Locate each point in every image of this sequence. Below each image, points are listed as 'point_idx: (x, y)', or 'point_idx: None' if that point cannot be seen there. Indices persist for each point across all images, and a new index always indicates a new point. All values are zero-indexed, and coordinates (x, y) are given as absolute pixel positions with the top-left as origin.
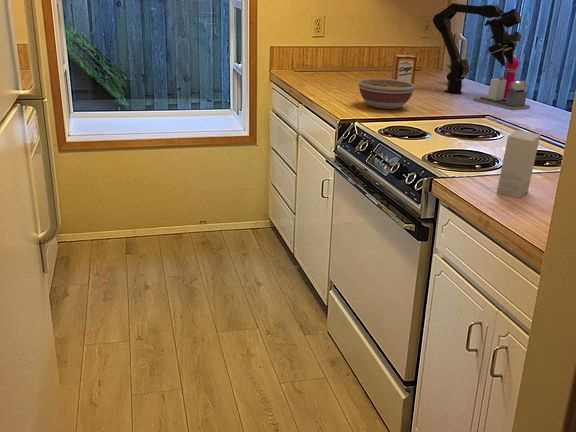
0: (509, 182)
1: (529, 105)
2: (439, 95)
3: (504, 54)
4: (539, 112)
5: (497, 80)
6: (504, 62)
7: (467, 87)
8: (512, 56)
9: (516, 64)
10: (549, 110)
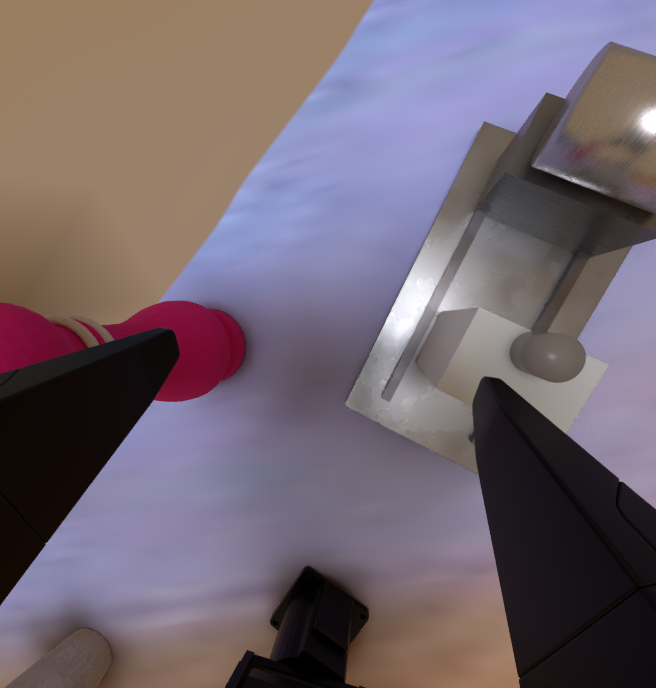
0: None
1: (485, 126)
2: (480, 665)
3: (18, 566)
4: (585, 35)
5: (603, 372)
6: (535, 409)
7: (103, 576)
8: (54, 377)
9: (26, 320)
10: (452, 14)
